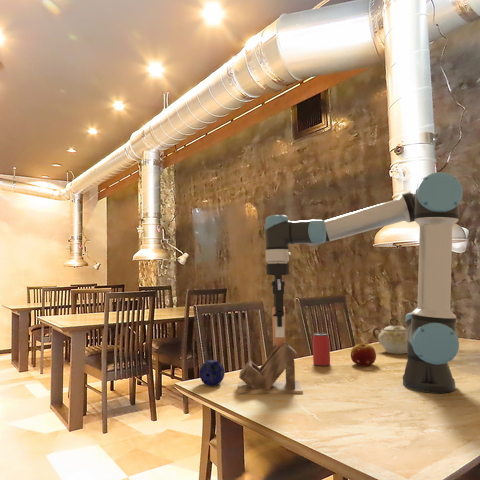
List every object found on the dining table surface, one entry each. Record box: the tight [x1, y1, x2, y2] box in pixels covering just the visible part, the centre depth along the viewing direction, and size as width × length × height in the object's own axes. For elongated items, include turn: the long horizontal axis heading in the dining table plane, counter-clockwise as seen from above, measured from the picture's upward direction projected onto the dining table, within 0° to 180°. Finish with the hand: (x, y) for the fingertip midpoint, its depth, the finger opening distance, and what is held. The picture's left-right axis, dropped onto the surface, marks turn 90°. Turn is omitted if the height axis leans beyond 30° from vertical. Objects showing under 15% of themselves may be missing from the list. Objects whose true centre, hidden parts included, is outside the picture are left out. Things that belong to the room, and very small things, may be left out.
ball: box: [199, 359, 225, 387], centre depth 135 cm, size 8×8×8 cm
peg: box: [271, 306, 286, 347], centre depth 130 cm, size 4×4×12 cm
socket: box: [236, 341, 304, 395], centre depth 129 cm, size 20×11×16 cm, turn 88°
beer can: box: [312, 332, 331, 367], centre depth 160 cm, size 7×7×12 cm
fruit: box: [350, 343, 377, 367], centre depth 158 cm, size 10×9×8 cm
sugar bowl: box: [372, 317, 407, 355], centre depth 181 cm, size 20×15×15 cm
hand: (279, 335), depth 129 cm, fingers closed on peg, 4 cm apart
